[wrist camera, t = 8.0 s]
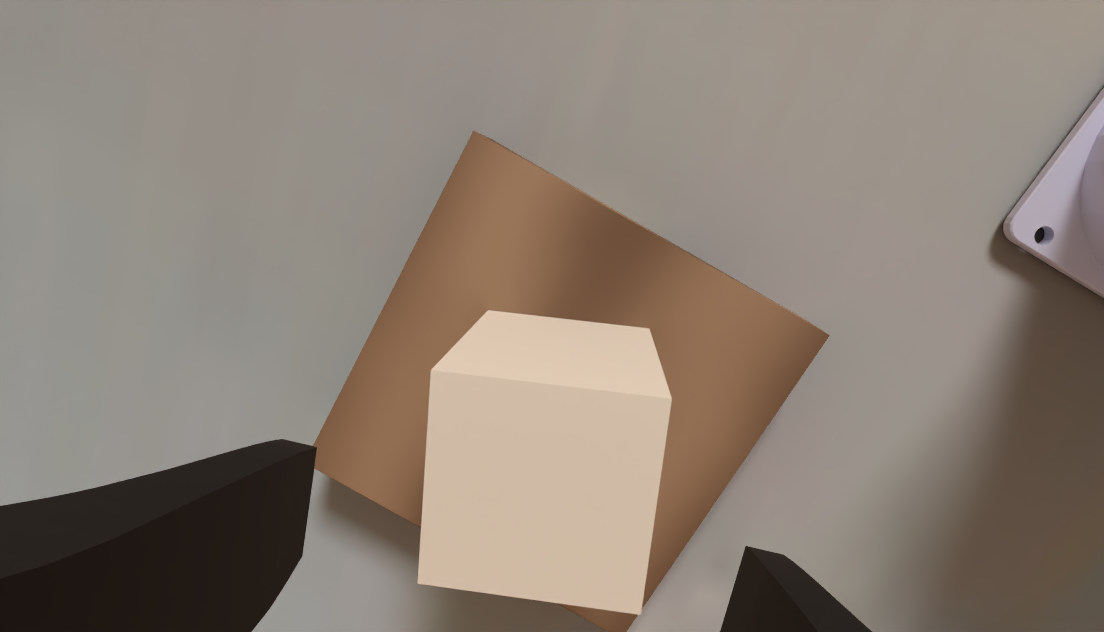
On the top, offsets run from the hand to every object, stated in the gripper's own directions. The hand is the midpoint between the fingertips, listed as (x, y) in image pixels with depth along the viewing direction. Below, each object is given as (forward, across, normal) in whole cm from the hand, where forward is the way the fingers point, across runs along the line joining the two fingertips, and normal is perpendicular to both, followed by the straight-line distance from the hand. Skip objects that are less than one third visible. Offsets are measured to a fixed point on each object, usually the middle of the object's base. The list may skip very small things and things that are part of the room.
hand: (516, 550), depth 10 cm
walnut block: (+11, 0, 0) cm, 11 cm away
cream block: (+8, 0, 0) cm, 8 cm away
